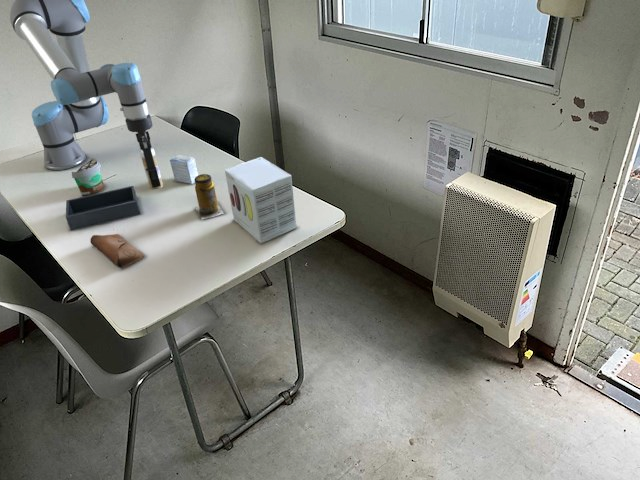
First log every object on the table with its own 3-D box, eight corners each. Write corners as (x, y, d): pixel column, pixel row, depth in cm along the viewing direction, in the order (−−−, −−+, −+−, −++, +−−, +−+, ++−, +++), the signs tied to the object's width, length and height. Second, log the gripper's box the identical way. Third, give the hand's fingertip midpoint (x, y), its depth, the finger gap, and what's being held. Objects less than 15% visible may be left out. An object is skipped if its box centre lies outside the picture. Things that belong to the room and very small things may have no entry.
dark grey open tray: (71, 212, 171) (66, 200, 168) (137, 197, 177) (133, 185, 174) (70, 230, 161) (65, 217, 159) (140, 214, 167) (136, 201, 165)
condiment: (216, 202, 171) (210, 170, 164) (224, 214, 164) (217, 181, 157) (195, 208, 168) (188, 176, 161) (202, 220, 162) (194, 187, 155)
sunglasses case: (146, 255, 147) (130, 244, 141) (130, 274, 145) (113, 264, 140) (117, 233, 157) (101, 222, 152) (102, 251, 156) (85, 240, 151)
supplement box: (232, 220, 160) (222, 169, 150) (268, 206, 167) (261, 155, 156) (260, 244, 149) (252, 190, 138) (298, 228, 155) (292, 174, 145)
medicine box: (199, 179, 186) (194, 157, 181) (192, 184, 182) (187, 162, 178) (182, 175, 189) (177, 154, 184) (174, 181, 185) (169, 159, 180)
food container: (95, 199, 178) (86, 173, 172) (80, 198, 179) (70, 172, 173) (114, 182, 188) (106, 157, 182) (99, 181, 189) (90, 157, 183)
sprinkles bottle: (159, 190, 169) (149, 153, 161) (147, 190, 169) (136, 152, 162) (165, 183, 172) (156, 147, 165) (153, 183, 173) (143, 146, 166)
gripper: (122, 109, 163) (141, 175, 176) (126, 128, 149) (147, 197, 162) (146, 105, 165) (163, 170, 178) (152, 123, 151) (170, 191, 164)
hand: (155, 183), depth 170 cm, fingers closed on sprinkles bottle, 4 cm apart
